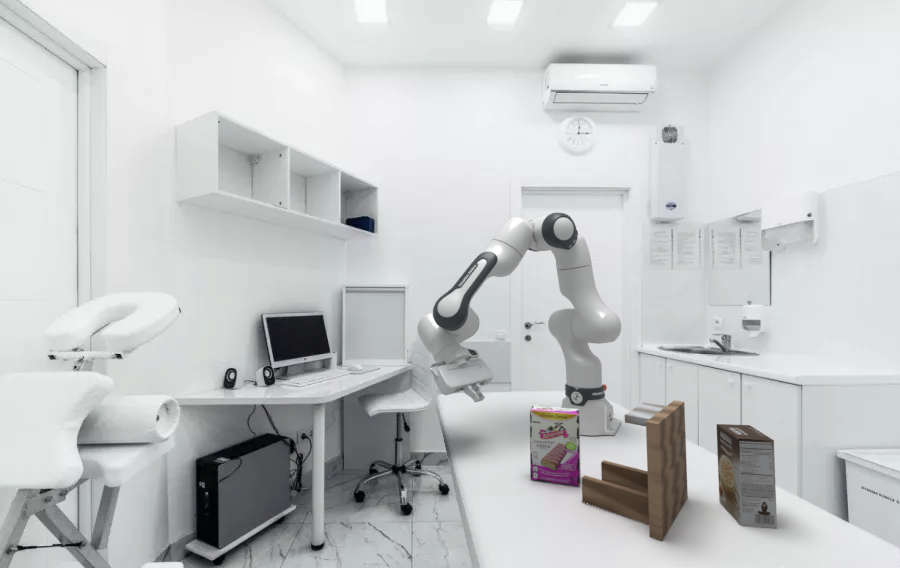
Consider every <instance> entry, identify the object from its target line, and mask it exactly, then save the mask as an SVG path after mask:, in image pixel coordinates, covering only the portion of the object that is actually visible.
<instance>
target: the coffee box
mask: <svg viewBox="0 0 900 568" xmlns="http://www.w3.org/2000/svg"><path fill="white" fill-rule="evenodd" d="M716 441H717V442H716V447H717V475H718V500H719V503H720V504H721V505H722V506H723V508H725V510H726V511H727V512H728V513H729V514H730V515H731V517H732V518H734V520H735V521H736V522H737V523H738V524H739V526H742V527H743V526H744V527H755V528H756V527H757V528H767V529H777V528H778V519H777V518H778V517H777V494H776V493H777V492H776V491H777V490H776V463H775V459H776V458H775V440H774V439H773V438H771V437H769V436H767V435H766V434H764V433H763V432H761V431H760V430H758V429H756V427H753V426H751V424H750V425H749V424H727V423H726V424H725V423H724V424H723V423H722V424H721V423H716Z"/></svg>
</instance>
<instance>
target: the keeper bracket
mask: <svg viewBox="0 0 900 568" xmlns="http://www.w3.org/2000/svg"><path fill="white" fill-rule="evenodd" d="M685 415H686V412H685V401H681V400H672V401H671V402H670V403H669V404H667V405H661V404H653V403H648V402H642V403H641V404H639V405H637V406H636V407H634V408H632V409H631V410H630V411H628V412H626V413H625V414H624V423H625V424H629V425H630V424H631V425H637V426H641V427H645V437H646V438H645V439H646V466H647V467H646V468H647V469H646V470H644V469H639V468H636V467H632V466H628V465H624V464H620V463H615V462H612V461H608V460H602V461H600V464H601V465H600V469H601V474H600V475H601V479H600V478H599V479H598V478H595V477H593V476H589V475H583V476H582V477H581V501H582V503H583V502H585V503H584V504H586V503H588V504H587V505H589V504H590V505H589V506H592V505H593V506H592V507H595V506H596V507H595V508H598V507H599V508H598V509H601V508H602V510H604V509H605V510H604V511H607V510H608V511H607V512H610V511H611V512H610V513H613V514H615V513H616V515H618V514H619V515H618V516H621V515H622V517H625V518H628V519H630V520H634V521H636V522H639V523H643V524H645V525H648V527H649V529H648V531H649V532H648V533H649V535H648V536H649V538H652V539H654V540H658V541H660V542H663V541H664V539H665V537H666V536H667V534H668V532H669V530H670V529H671V527H672V526H673V524H674V522H675V520H676V518H677V517H678V515H679V514H680V513H681V510H682V509H683V507H684V506H685V504H686V502H687V500H688V498H689V495H688V494H689V493H688V470H687V466H688V465H687V443H686V438H687V437H686V416H685Z"/></svg>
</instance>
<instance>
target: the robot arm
mask: <svg viewBox="0 0 900 568" xmlns="http://www.w3.org/2000/svg"><path fill="white" fill-rule="evenodd" d="M586 241H587V240H586V238H585V237H584V236H583V235H582V234H580V233H579V232H578V229H577V226H576V224H575V222H574V220H573V219H572V217H571V216H570V215H568V214H566V213H564V212H552V213H550V214H544V215H541V216H539V217H537V218H535V219H531V220H527V219H525V218H523V217H519V216H513V217H511V218H509V219H508V220H506V221H505V223H503V225H502V226H500V228H499V229H498V231H497V232H496V233H495V234H494V236H493V237H492V238H491V240H490V242H489V243H488V245H487V246H486V247H485V249H484V250H483V251H482V252H481V253H480V254H479V255H477V256H476V257H475V258H474V260H473V261H472V262H471V263H470V265H468V267H467V268H466V269H465V271H464V272H463V273H462V274H461V276H460V277H459V278H458V280H457V281H456V282H455V284H454V285H453V286H452V287H451V288H450V289H449V290H448V291H447V292H445V293H444V294H443V295H440V297H439V298H438V299H437V300H436V301H435V304H433V305H434V306H433V308H432V312H427V313H426V314H425V315H423V316H422V318H420V320H419V322H418V324H417V329H416V330H417V334H418V336H419V339H420V340H421V341H422V344H423V345H424V347H425V349H426V350H427V351H428V352H429V353H431V355H432V357H433V360H434V362H435V363H432V364H431V366H430V368H429V369H430V370H429V371H430V373H431V374H432V376H433V377H432V378H433V380H434V382H435V385H436V386H437V388H438V390H439V392H440V393H441V394H442V395H444V396H449V395H452V394H456V393H457V394H458V393H460V392H463V393H464V395H466V396H468V397H470V398H471V399H472V401H473V402H474V403H478V402H482V401H484V399H485V398H486V397H485V395H484V393H483V392H482V391H483V390H482V387H483V386H487V385H488V384H490V382H491V381H492V380H493V379H494V373H493V372H492V370H491V368H489V366H488V365H487V363H486V362H485V361H484V359H482V358H480V353H479V352H478V351H477V350H476V349H471V348H467V347H466V346H462V345H461V343H463V342H464V341H466V340H468V339H469V338H472V337H473V336H474V335H476V334H477V332H478V330H479V328H480V318H479V316H478V314H477V313H476V312H475V311H474V309H473V308H472V307H471V302H472V299H473V298H474V296H475V295H476V294H477V293H478V292H479V291H480V288H481V287H482V286H483V284H484V283H485V282H486V281H487V280H488V279H489V278H492V277H496V278H504V277H509V276H510V275H512V273H514V271H515V270H516V269H517V268H518V266H519V265H520V263H521V261H522V260H523V258H524V256H525V254H526V252H527V251H531V252H534V253H535V252H538V253H539V252H546V251H550V252H551V253H552V254H553V256H554V259H555V267H556V273H557V279H558V286H559V292H560V294H561V295H562V296H563V297H565V298H566V299H567V300H568V301H570V303H571V305H572V306H573V308H563V309H559V310H555V311H553V312H552V313H551V314H550V316H549V318H548V320H547V321H548V325H547V326H548V327H547V328H548V331H549V332H550V334H551V336H553V338H555V339H556V341H557V342H558V345H559V346H560V348H561V351H562V353H563V357H564V363H565V375H566V377H565V380H566V383H565V385H564V392H565V393H564V394H565V397H563V399H562V401H561V408H572V409H579V410H580V436H590V437H591V436H615V435H616V434H617V432H618V430H619V429H620V427H621V424H622V421H621V419H619V418H615V417H614V407H613V405H612V404H611V403H610V401H608V399H607V398H606V391H607V388H608V385H607V384H605V383H603V373H602V371H603V370H602V369H603V367H602V365H603V364H602V362H601V361H602V360H601V359H600V358H599V357H598V356H597V355H595V353H593V351H592V349H591V348H590V346H589V344H600V345H601V344H607V343H614V342H616V340H617V339H618V338H619V337H620V335H621V332H622V323H621V319H620V316H618V314H617V313H616V312H614V311H613V310H611V309H610V308H609V307H608V306H607V305H606V303H605V302H604V301H603V299H602V297H601V296H600V294H599V291H598V289H597V286H596V281H595V275H594V272H593V265H592V264H593V263H592V259H591V254H590V251H589V247H588V243H587V242H586Z"/></svg>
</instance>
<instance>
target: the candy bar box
mask: <svg viewBox="0 0 900 568" xmlns="http://www.w3.org/2000/svg"><path fill="white" fill-rule="evenodd" d="M529 432H530V433H529V435H530V436H529V437H530V438H529V441H530V442H529V443H530V444H529V446H530V448H529V449H530V455H529V456H530V457H529V458H530V459H529V460H530V462H529V463H530V465H529V466H530V469H529V470H530V481H535V482H536V481H537V482H542V481H543V482H544V483H549V482H551V484H556V483H558V484H559V485H564V486H570V485H571V486H570V487H572V486H573V487H578V486H579V487H580V486H581V485H580V484H581V435H580V410H579V409H572V408H562V407H559V406H557V407H556V406H548V405H536V404H534V405H532V406H531V408H530V410H529Z"/></svg>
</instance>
